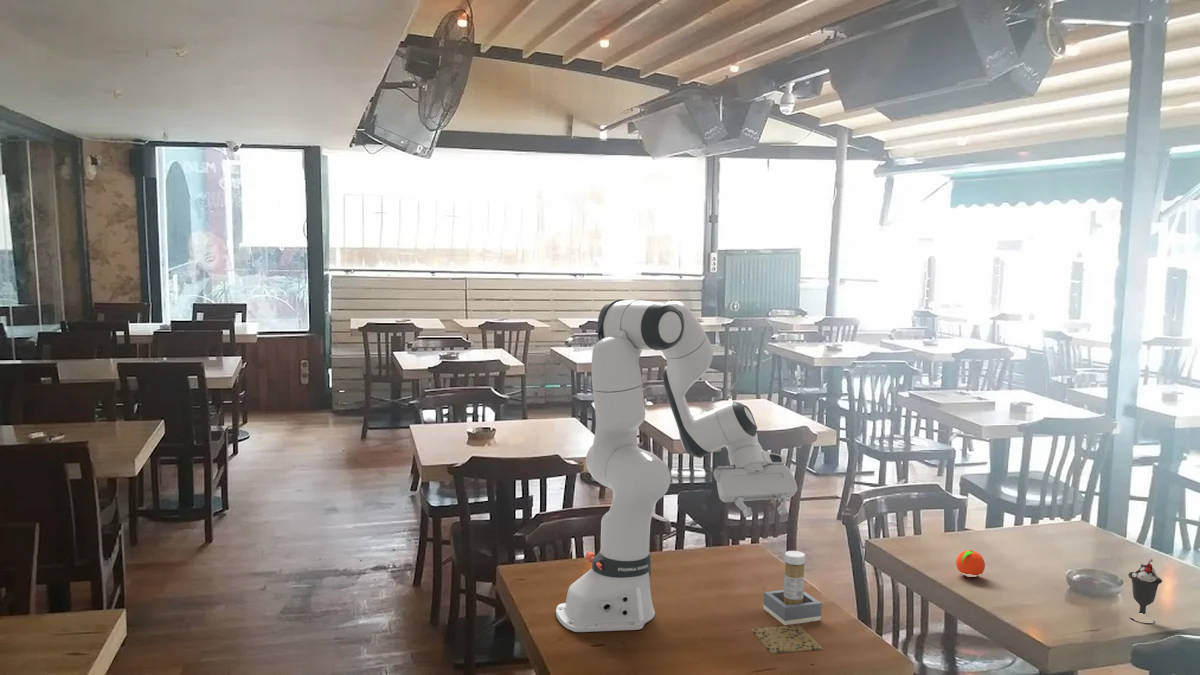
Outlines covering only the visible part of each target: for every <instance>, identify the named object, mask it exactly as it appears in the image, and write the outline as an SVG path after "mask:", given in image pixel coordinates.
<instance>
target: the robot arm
mask: <svg viewBox="0 0 1200 675" xmlns="http://www.w3.org/2000/svg"><path fill="white" fill-rule="evenodd" d="M597 336H598V337H597V338H598V340H599V341H597V342H596V343H595V344H594V345H593V347H592V351H591V353H592V354H591V386H592V395H593V396H592V397H593V404H594V414H595V430H594V437H593V443H592V445H591V446H590V447H589V449H588V451H587V453H586V455H585V456H586V457H585V466H586V470H587V471H588V473H589V474H590V475H591V476H592V477H593V479H594V480H596V482H597V483H599V484H600V485H602V486H604V487H606V488H609V489H610V490H611V492H612V501H611V504H610V507H609V510H608V511H607V512H606V513H605V514H604V515H603V516H602V518H601V521H600V550H599V551H598V553H597V554H596V555H595V554H594V552H593V551H587V552H586V554H585V559H586V560H587V561H588V562H589V563H591V567H592V568H590V569H589V570H588V571H586V572H585V573H584V574H583V575H582V576H580V577H578V579H576V580H575V581H574V582H572V584H570V585H569V588H568V590H567V594H566V599H565V602H562V603H559V604H558V605H557V606H556V609H555V616H556V618H557V620H558V622H559V623H560V624H561V625H562V626H563V627H565V628H566V629H567V630H570V631H572V632H574V633H588V632H591V633H592V632H611V631H612V632H614V631H616V632H617V631H636V630H641V629H643V628H644V626H645V624H647V623H648V622H650V621H652V619H653V618H655V615H656V612H655V611H656V610H655V609H654V604H653V601H652V593H651V584H650V577H651V573H652V572H651V570H652V554H651V552H650V539H651V538H650V535H651V523H652V516H653V514H654V510H655V506H656V504H657V502H658V501H659V500H661V499H662V498H663V497H664V496H665V494H666V493H667V491H668V490H669V488H670V485H671V479H672V478H671V471H670V468H669V467H668V465H667V464H666V462H664V461H663V460H662V459H661V458H660V457H658V456H657V455H656V454H655V453H653V452H651V451H647V450H645V449H643V448H640V447H639V445H638V439H637V438H638V431H639V427H640V426H641V425H642V424H643V423H644V421H645V419H646V408H645V397H644V388H643V380H642V373H641V367H640V357H641V354H642V351H643V350H644V351H647V350H648V351H650V350H653V351H661V352H662V354H663V356H664V357H665V361H666V368H665V370H664V371H663V372H662V381H663V386H664V390H665V394H666V397H667V400H668V402H669V406H670V408H671V412H672V414H673V417H674V420H675V423H676V427H677V429H678V433H679V440H680V443H681V445H682V448H683V449H684V451H685V452H686V453H687V455H690V456H692V457H695V458H699V459H702V458H704V457H705V456H708V455H709V454H711V453H713V452H715V451H718V450H720V449H722V448H726V449H727V453H728V455H727V456H728V460H729V465H728V464H727V465H718V466H717V467H716V468H715V467H714V469H713V477H714V479H715V481H716V486H717V492H718V498H719V500H720V501H722V502H723V503H735V506H736V507H737V508H738V509H739V510H740V511H741V512H742V514H743V517H744V518H751V516H753V511H752V508H751V507H750V506H749V507H748V506H747V504H746V503H744V502H747V501H748V502H750V501H752V502H753V501H764V500H767V501H768V500H777V501H778V503H780V504H779V506H778V507H777V511H778V514H779V515H786V513H788V509H787V506H786V505H787V500H788V499H791V498H793V497H794V496H795V495H796V493H797V491H798V485H797V482H796V481H797V480H796V479H795V477H794V475H793V473H792V470H791V469H790V467H789V466H787V465H786V464H785V463H786V462H787V461H786V458H785V457H784V456H783V455H782V454H781V455H780V454H776V453H773V452H769V451H767V450H764V449H763V447H762V445H761V444H760V442H759V440H758V439H759V437H758V436H759V435H758V433H757V431H758V426H757V424H756V421H755V417H754V415H753V412H752V411H751V409H750V408H749V407H748V406H747V405H745V404H743V403H741V402H739V401H735V400H733V401H730V402H726V403H724V404H722V405H718V406H717V407H715V408H713V409H711V410H709V411H706V412H703V413H701V414H698V415H692V413H691V411H690V407H689V405H688V402H687V399H686V394H687V393H688V390H690V388H692V386H693V385H694V384H695V383H696V382H697V381H699V379H701V378H702V377H703V376H704V375H705V374H706V372H707V371H708V369H709V368H710V367H711V364H712V362H713V358H714V357H713V356H714V351H713V350H714V349H713V347H712V344H711V341H710V339H709V337H708V335H707V333H706V331H705V328H703V326H702V324H701V322H700V321H699V320H698V318H697V317H696V316H695V314H694V313H693V312H692V311H691V309H689V307H688V306H687V305H686V304H685V303H683V302H681V301H679V300H670V301H666V302H662V301H657V302H656V301H651V300H645V299H639V298H638V299H636V298H635V299H616V300H612V301H610V302H607V303H606V304H604V306H603V307H602V308H601V310H600V312H599V315H598V319H597Z"/></svg>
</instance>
